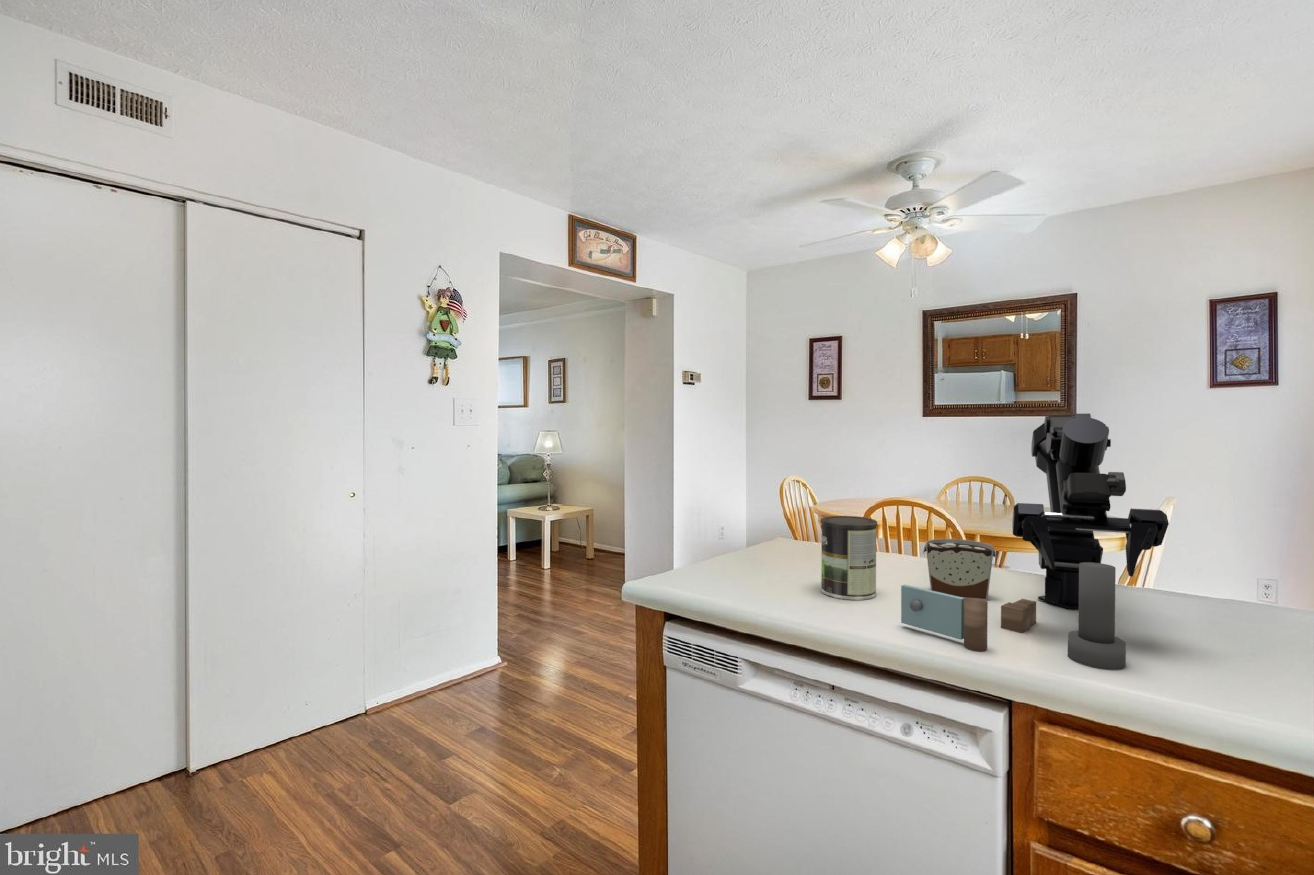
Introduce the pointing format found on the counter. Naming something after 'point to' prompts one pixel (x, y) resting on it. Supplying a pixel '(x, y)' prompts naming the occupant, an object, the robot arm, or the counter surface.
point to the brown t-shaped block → (1012, 618)
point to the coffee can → (848, 557)
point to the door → (932, 611)
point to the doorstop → (1097, 620)
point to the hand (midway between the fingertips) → (1091, 571)
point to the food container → (960, 567)
